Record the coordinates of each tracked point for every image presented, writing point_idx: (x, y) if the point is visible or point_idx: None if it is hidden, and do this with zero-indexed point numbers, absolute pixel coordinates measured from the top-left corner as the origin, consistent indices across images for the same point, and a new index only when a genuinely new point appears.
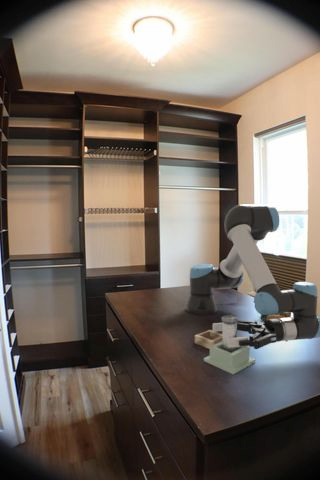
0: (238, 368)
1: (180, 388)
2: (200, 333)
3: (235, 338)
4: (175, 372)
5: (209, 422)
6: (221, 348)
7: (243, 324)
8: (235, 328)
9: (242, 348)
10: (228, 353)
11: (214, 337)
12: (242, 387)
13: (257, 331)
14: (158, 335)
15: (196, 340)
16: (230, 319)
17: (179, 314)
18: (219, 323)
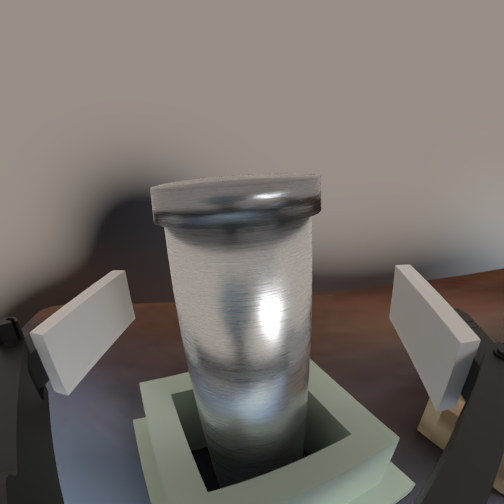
0: (138, 450)
1: (166, 310)
2: None
3: (90, 287)
4: None
5: (52, 313)
6: (308, 411)
7: (437, 472)
8: (174, 286)
9: (190, 479)
10: (174, 382)
11: None
12: (59, 405)
13: (11, 473)
14: (497, 300)
15: None
16: (189, 181)
17: None
18: (419, 285)
